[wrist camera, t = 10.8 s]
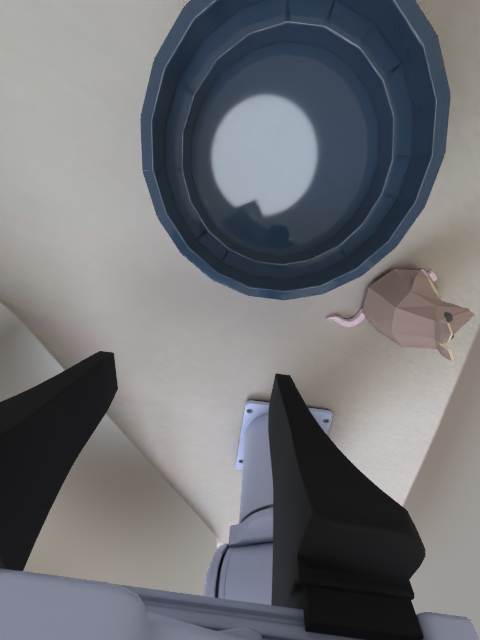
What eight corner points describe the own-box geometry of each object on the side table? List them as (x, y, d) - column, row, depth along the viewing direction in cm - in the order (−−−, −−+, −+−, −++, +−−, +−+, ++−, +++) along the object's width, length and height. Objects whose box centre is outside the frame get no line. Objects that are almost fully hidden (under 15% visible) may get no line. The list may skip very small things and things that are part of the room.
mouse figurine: (317, 288, 22) (338, 335, 16) (434, 253, 20) (508, 290, 14) (332, 345, 24) (356, 405, 18) (439, 318, 22) (505, 373, 16)
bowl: (362, 286, 21) (385, 313, 17) (168, 261, 21) (146, 283, 17) (447, 21, 15) (516, -33, 11) (166, -12, 15) (131, -78, 11)
